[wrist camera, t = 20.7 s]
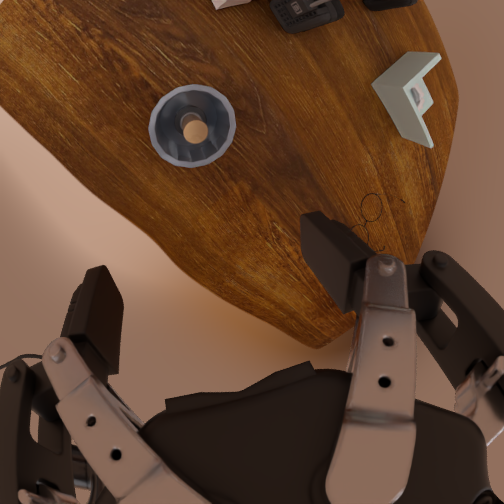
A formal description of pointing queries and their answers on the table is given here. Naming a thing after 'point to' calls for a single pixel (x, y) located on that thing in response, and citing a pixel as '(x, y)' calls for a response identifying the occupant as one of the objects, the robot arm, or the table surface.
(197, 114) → the cylinder with wooden handle
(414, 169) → the table surface
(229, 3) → the white notched block
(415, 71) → the l-shaped corner panel
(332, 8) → the headphones
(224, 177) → the table surface
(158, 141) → the grey cup
